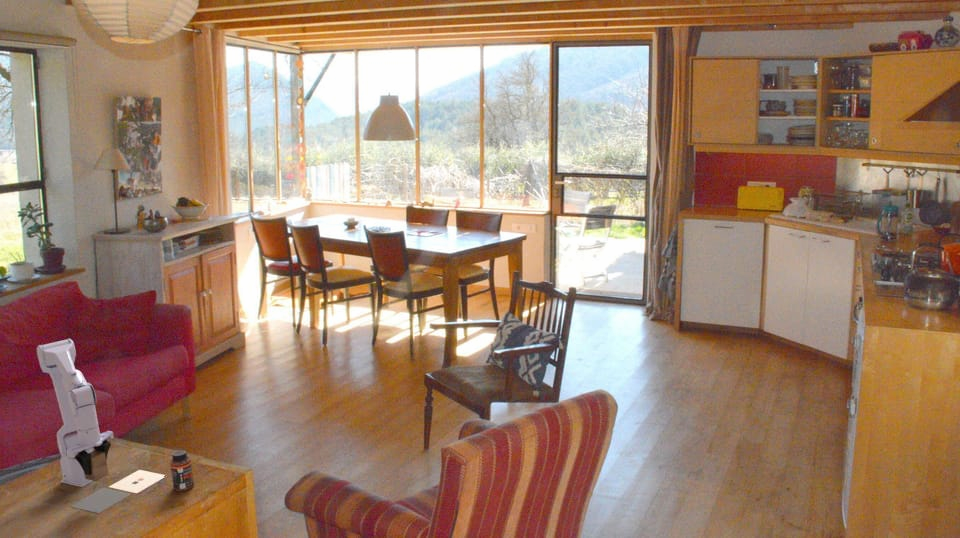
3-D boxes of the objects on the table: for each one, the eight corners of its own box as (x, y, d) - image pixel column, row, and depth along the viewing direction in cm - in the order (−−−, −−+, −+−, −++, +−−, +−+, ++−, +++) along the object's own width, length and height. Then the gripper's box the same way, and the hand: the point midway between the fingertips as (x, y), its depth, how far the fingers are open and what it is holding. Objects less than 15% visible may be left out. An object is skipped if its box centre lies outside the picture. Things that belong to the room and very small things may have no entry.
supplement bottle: (188, 492, 261) (182, 457, 258) (170, 492, 262) (164, 457, 259) (198, 483, 266) (193, 448, 264) (180, 482, 268) (175, 448, 265)
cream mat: (108, 487, 268) (108, 486, 268) (139, 470, 278) (139, 469, 278) (136, 493, 262) (136, 493, 262) (167, 476, 273) (167, 475, 272)
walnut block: (85, 479, 256) (81, 456, 255) (97, 472, 260) (93, 450, 259) (96, 481, 254) (91, 458, 253) (108, 474, 258) (104, 452, 257)
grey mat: (69, 507, 257) (69, 506, 257) (103, 488, 267) (103, 487, 267) (98, 514, 251) (98, 513, 251) (131, 494, 262) (131, 494, 262)
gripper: (75, 438, 246) (84, 483, 249) (117, 418, 258) (125, 461, 261) (58, 435, 249) (67, 479, 252) (100, 415, 261) (108, 458, 265)
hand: (95, 470), depth 257 cm, fingers closed on walnut block, 4 cm apart
